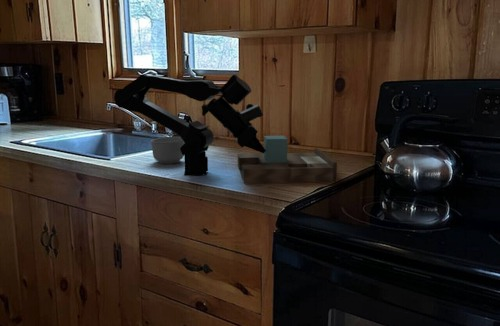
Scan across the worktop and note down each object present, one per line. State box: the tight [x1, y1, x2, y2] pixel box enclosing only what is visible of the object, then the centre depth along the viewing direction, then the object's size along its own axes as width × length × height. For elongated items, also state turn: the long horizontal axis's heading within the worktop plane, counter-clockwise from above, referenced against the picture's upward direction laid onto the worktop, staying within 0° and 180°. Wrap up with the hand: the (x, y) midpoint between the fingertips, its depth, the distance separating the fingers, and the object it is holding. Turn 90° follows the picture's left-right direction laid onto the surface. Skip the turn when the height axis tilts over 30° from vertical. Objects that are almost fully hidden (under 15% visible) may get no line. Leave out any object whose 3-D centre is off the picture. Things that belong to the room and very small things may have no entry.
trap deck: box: [237, 147, 338, 185], centre depth 140 cm, size 26×22×6 cm
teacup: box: [150, 136, 184, 165], centre depth 156 cm, size 14×11×8 cm
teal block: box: [263, 135, 288, 163], centre depth 138 cm, size 6×6×7 cm
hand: (264, 151), depth 138 cm, fingers closed, pressing on teal block
